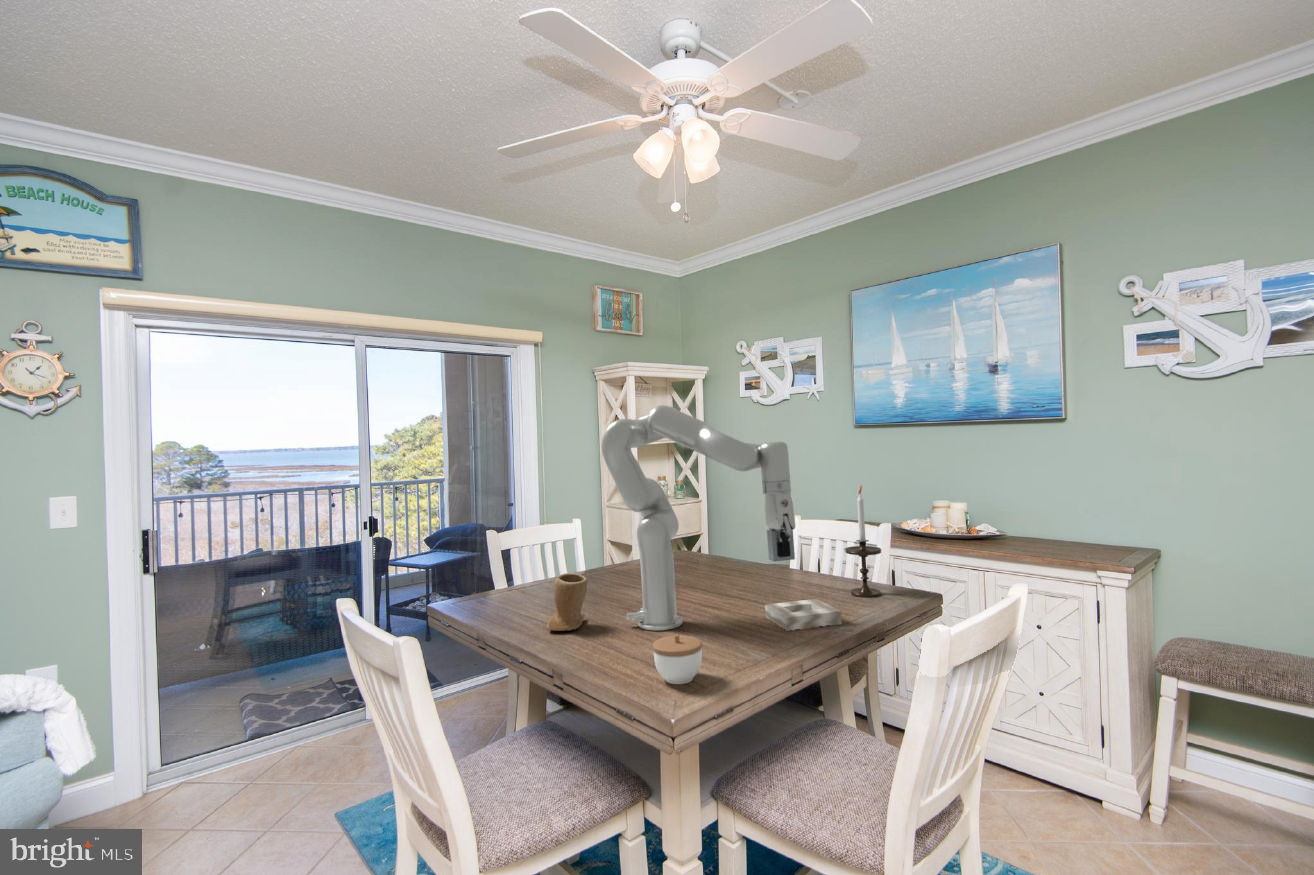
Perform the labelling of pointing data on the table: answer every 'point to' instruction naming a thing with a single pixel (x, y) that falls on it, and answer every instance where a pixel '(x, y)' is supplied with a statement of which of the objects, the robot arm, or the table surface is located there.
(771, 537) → the upright grey box
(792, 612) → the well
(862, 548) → the candlestick
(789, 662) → the table surface
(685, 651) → the lidded jar
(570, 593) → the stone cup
